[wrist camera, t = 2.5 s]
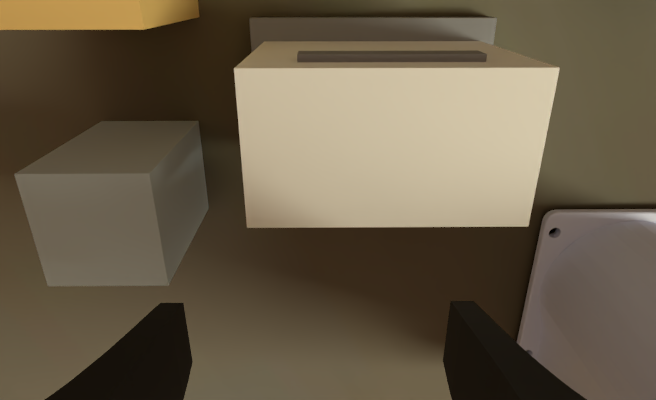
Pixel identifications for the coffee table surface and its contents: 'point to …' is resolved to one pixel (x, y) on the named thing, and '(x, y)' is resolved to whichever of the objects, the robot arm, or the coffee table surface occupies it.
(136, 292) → the coffee table surface
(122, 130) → the slate block
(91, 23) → the ochre block
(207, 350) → the coffee table surface
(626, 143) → the coffee table surface
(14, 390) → the coffee table surface
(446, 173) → the cream unit
